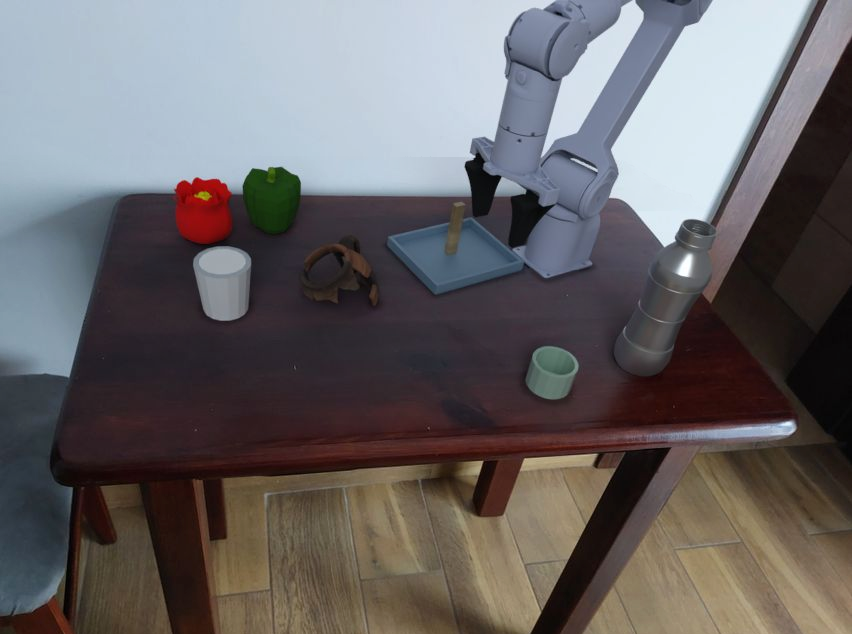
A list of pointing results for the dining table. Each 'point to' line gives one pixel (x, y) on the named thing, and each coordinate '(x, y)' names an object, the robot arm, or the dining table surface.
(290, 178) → the bell pepper
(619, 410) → the dining table surface
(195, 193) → the flower
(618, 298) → the dining table surface
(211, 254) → the shot glass
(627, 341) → the grey metal bottle
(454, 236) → the stirrer
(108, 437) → the dining table surface
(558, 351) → the espresso cup
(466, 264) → the spoon tray
